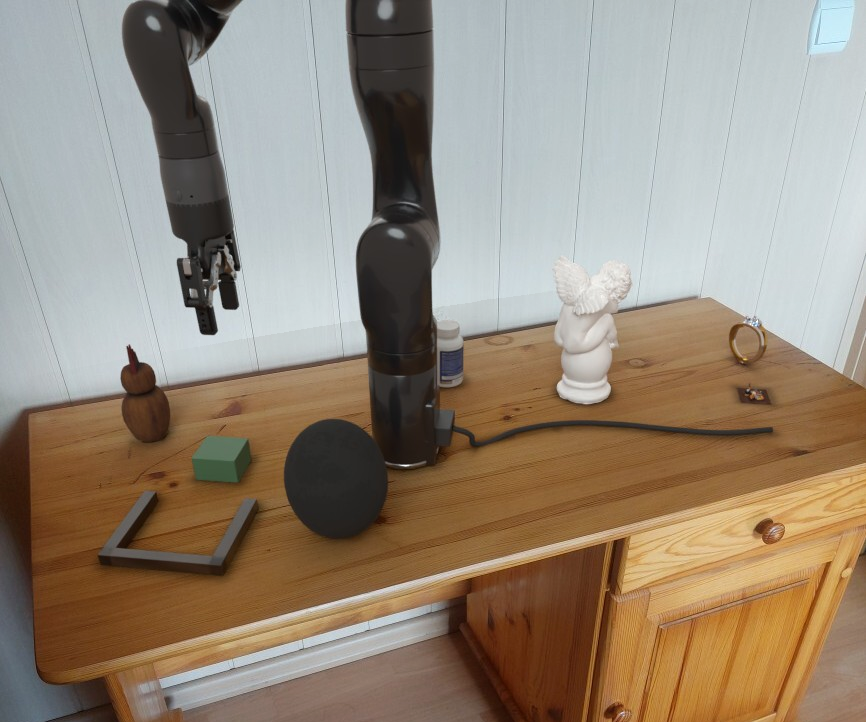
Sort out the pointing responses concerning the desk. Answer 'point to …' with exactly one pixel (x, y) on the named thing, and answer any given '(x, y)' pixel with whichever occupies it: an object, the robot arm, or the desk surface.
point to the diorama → (753, 395)
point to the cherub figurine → (588, 327)
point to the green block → (221, 459)
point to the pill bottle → (449, 354)
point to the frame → (166, 561)
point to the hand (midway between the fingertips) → (220, 321)
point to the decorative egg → (335, 478)
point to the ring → (762, 336)
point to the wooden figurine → (143, 401)
